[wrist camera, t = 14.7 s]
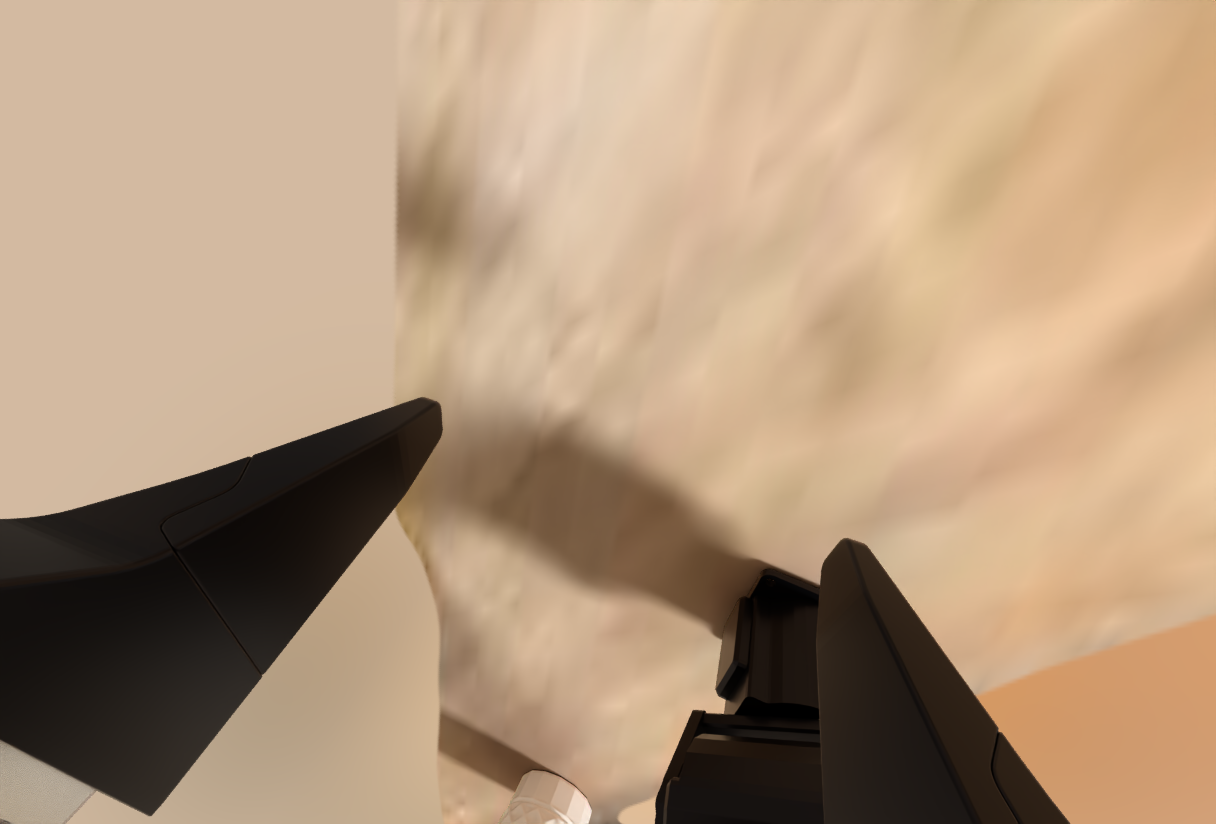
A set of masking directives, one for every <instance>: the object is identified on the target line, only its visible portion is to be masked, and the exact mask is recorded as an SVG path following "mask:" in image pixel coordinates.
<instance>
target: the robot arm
mask: <svg viewBox="0 0 1216 824" xmlns="http://www.w3.org/2000/svg"><path fill="white" fill-rule="evenodd" d="M442 431H443V426H442V412H441V405H440V403H438V402H437V401H434V400H431V399H428V398H425V397H421V398H417V399H414V400H411V401H408V402H406V403H403V404H400V405H397V406H394V407H391V408H388V409H385V410H382V411H380V412H377V413H374V414H371V415H368V416H365V417H362V418H359V419H356V420H353V421H351V422H348V423H345V424H342V425H339V426H336V427H333V428H331V429H327V430H325V431H322V432H319V433H316V434H313V435H311V436H307V437H305V438H301V439H299V440H296V441H293V442H290V443H287V444H284V445H281V446H278V447H275V448H272V449H270V450H267V451H264V452H261V453H258V454H255V455H253V456H252V457H246V458H243V459H240V460H237V461H234V462H232V463H229V464H226V465H223V466H219V467H216V468H213V469H211V470H207V471H204V472H201V473H199V474H195V475H192V476H188V477H185V478H181V479H178V480H175V481H171V482H168V483H165V484H161V485H158V486H154V487H151V488H147V489H143V490H140V491H136V492H133V493H130V494H126V495H123V496H119V497H115V498H111V499H108V500H104V501H101V502H97V503H94V504H90V505H87V506H83V507H80V508H76V509H72V510H68V511H64V512H60V513H55V514H50V515H45V516H38V517H30V518H17V519H0V824H65V823H66V822H67V821H68V820H69V819H70V818H71V817H72V816H73V815H74V814H75V813H76V812H77V811H78V810H79V808H81V807H82V806H83V804H84V803H85V802H86V801H87V800H88V799H89V798H90V797H91V796H92V795H93V794H94V793H95V792H96V791H98V792H101V793H102V794H105V795H107V796H109V797H111V798H113V799H115V800H117V801H119V802H121V803H123V804H125V805H127V806H129V807H131V808H134V809H135V810H137V811H139V812H142V813H144V814H146V815H148V816H152V815H153V814H154V813H155V811H156V810H157V809H158V808H159V807H160V806H161V804H162V803H163V802H164V801H165V800H166V799H167V797H168V796H169V795H170V793H171V792H172V791H173V790H174V788H175V787H176V786H177V785H178V783H179V782H180V781H181V779H182V778H183V777H184V776H185V774H186V773H187V772H188V771H189V769H190V768H191V767H192V765H193V764H194V763H195V762H196V760H197V759H198V758H199V756H200V755H201V754H202V753H203V751H204V750H205V749H206V748H207V746H208V745H209V744H210V742H211V741H212V740H213V739H214V737H215V736H216V735H217V734H218V732H219V731H220V730H221V729H222V727H223V726H224V725H225V724H226V722H227V721H228V720H229V718H230V717H231V716H232V714H233V713H234V712H235V711H236V709H237V708H238V707H239V706H240V704H241V703H242V702H243V701H244V699H245V698H246V697H247V696H248V694H249V693H250V692H251V690H252V689H253V688H254V687H255V685H256V684H257V683H258V682H259V680H260V679H261V678H262V675H263V674H264V673H265V672H266V671H267V669H268V668H269V667H270V666H271V665H272V663H273V662H274V661H275V660H276V658H277V657H278V656H279V654H280V653H281V652H282V651H283V649H284V648H285V647H286V646H287V644H288V643H289V642H290V640H291V639H292V638H293V636H294V635H295V634H296V633H297V632H298V630H299V629H300V628H301V627H302V625H303V624H304V623H305V621H306V620H307V619H308V617H309V616H310V615H311V614H312V613H313V611H314V610H315V609H316V607H317V606H318V605H319V604H320V602H321V601H322V600H323V599H324V597H325V596H326V594H327V593H328V592H329V591H330V590H331V588H332V587H333V586H334V585H335V583H336V582H337V581H338V579H339V578H340V577H341V576H342V574H343V573H344V572H345V571H346V569H347V568H348V567H349V565H350V564H351V563H352V562H353V560H354V559H355V558H356V556H357V555H358V554H359V553H360V552H361V550H362V549H363V548H364V546H365V545H366V544H367V542H368V541H369V540H370V539H371V538H372V536H373V535H374V534H375V532H376V531H377V530H378V529H379V527H380V526H381V525H382V523H383V522H384V521H385V520H386V518H387V517H388V516H389V515H390V513H391V512H392V511H393V510H394V508H395V507H396V506H397V504H398V503H399V502H400V501H401V499H402V498H403V497H404V495H405V494H406V493H407V491H408V490H409V488H410V487H411V485H412V484H413V482H414V480H415V479H416V477H417V475H418V474H419V472H420V471H421V469H422V467H423V466H424V464H425V463H426V461H427V459H428V458H429V456H430V454H431V453H432V451H433V450H434V448H435V446H436V445H437V443H438V442H439V440H440V438H441V435H442ZM769 578H770V579H773V580H774V581H769V580H767V579H769ZM715 690H716V692H717V694H718V696H719V697H721V698H723V699H725V700H726V702H725V711H724V714H716V713H706V711H703V710H693V711H692V713H691V716H690V718H689V720H688V723H687V725H686V727H685V730H684V732H683V734H682V737H681V739H680V741H679V744H678V746H677V748H676V751H675V753H674V755H673V758H672V760H671V762H670V765H669V767H668V769H667V772H666V774H665V776H664V779H663V782H662V785H661V787H660V790H659V792H658V795H657V797H656V803H655V807H656V818H655V824H1070V823H1069V821H1068V820H1067V819H1066V818H1065V816H1064V815H1063V814H1062V812H1061V811H1060V810H1059V809H1058V807H1057V806H1056V805H1055V804H1054V802H1053V801H1052V800H1051V799H1050V797H1049V796H1048V795H1047V793H1046V792H1045V790H1044V789H1043V788H1042V787H1041V785H1040V784H1039V782H1038V781H1037V780H1036V779H1035V777H1034V776H1033V774H1032V773H1031V772H1030V770H1029V769H1028V768H1027V766H1026V765H1025V764H1024V762H1023V761H1022V760H1021V758H1020V757H1019V756H1018V754H1017V753H1016V751H1015V750H1014V748H1013V747H1012V746H1011V744H1010V743H1009V742H1008V740H1007V739H1006V737H1005V736H1004V735H1003V733H1001V732H998V727H997V725H996V724H995V722H994V721H993V720H992V718H991V717H990V716H989V714H988V713H987V711H986V710H985V708H984V707H983V706H982V705H981V703H980V702H979V700H978V699H977V697H976V696H975V695H974V693H973V692H972V690H971V689H970V688H969V686H968V685H967V683H966V682H965V681H964V679H963V678H962V677H961V675H960V674H959V672H958V671H957V670H956V668H955V667H954V665H953V664H952V663H951V661H950V660H949V658H948V657H947V656H946V654H945V653H944V652H943V650H942V649H941V647H940V646H939V645H938V643H937V642H936V640H935V639H934V638H933V636H932V635H931V633H930V632H929V631H928V629H927V628H926V627H925V625H924V624H923V622H922V621H921V620H920V618H919V617H918V615H917V614H916V613H915V611H914V610H913V608H912V607H911V606H910V604H909V603H908V602H907V600H906V599H905V597H904V596H903V595H902V593H901V592H900V590H899V589H898V588H897V586H896V585H895V583H894V582H893V581H892V579H891V578H890V577H889V575H888V574H887V572H886V571H885V570H884V568H883V567H882V565H881V564H880V563H879V561H878V560H877V559H876V557H875V556H874V554H873V553H872V552H871V550H870V549H869V548H868V546H867V545H865V544H864V543H861V542H858V541H855V540H852V539H849V538H844V539H842V540H841V541H840V542H839V543H838V544H837V545H836V547H835V548H834V549H833V550H832V552H831V553H830V554H829V555H828V557H827V558H826V559H825V561H824V563H823V565H822V570H821V581H820V589H818V588H816V587H813V586H811V585H808V584H806V583H804V582H801V581H799V580H796V579H794V578H792V577H789V576H787V575H784V574H782V573H780V572H777V571H775V570H771V569H766V570H763V571H762V572H761V573H760V575H759V577H758V579H757V581H756V582H755V584H754V586H753V588H752V589H751V591H750V593H749V595H748V597H745V596H744V597H741V598H739V600H738V602H737V604H736V606H735V608H734V609H733V611H732V613H731V615H730V617H729V618H728V620H727V622H726V624H725V626H724V632H723V639H722V646H721V653H720V660H719V667H718V674H717V681H716V688H715Z"/></svg>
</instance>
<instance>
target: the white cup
mask: <svg viewBox="0 0 1216 824" xmlns="http://www.w3.org/2000/svg"><path fill="white" fill-rule="evenodd" d="M591 812H592V810H591V807H590V805H589V803H588V800H587V799H586V797H585V796H584V795H583V794H582V793H581V792H580V791H579V790H578V789H577V788H576V787H575V786H573V785H572V784H570V783H569V782H567V781H566V780H564V779H563V778H561V777H559V776H557V775H554V774H551V773H549V772H546V771H539V770H532V771H530V772H528V773H526V774H524V775H523V777H522V779H521V781H520V783H519V785H518V787H517V789H516V791H515V793H514V795H513V797H512V799H511V801H510V804H509V806H508V807H507V809H506V810H505V812H504V813H503V815H502V816H501V818H500V820H499V822H498V824H588V823H589V819H590V816H591Z"/></svg>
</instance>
